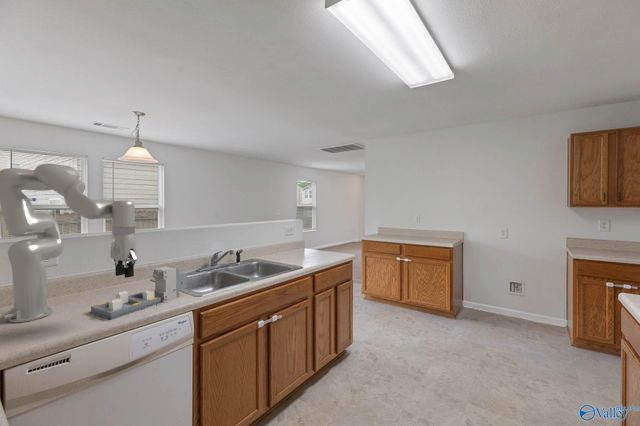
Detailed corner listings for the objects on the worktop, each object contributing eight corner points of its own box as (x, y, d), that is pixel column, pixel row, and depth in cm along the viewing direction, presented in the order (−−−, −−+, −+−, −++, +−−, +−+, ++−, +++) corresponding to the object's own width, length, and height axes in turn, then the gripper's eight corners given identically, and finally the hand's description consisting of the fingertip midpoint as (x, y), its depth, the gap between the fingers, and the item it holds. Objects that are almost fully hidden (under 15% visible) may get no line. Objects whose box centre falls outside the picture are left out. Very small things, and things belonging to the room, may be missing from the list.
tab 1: (113, 313, 115) (112, 301, 115) (108, 312, 116) (108, 300, 116) (122, 310, 118) (121, 298, 118) (118, 309, 119) (117, 297, 119)
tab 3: (147, 302, 127) (146, 291, 127) (142, 301, 129) (142, 290, 128) (154, 300, 130) (154, 289, 130) (150, 299, 132) (150, 288, 132)
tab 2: (120, 304, 125) (119, 293, 124) (116, 303, 126) (115, 292, 126) (128, 302, 128) (128, 291, 127) (124, 300, 129) (124, 290, 129)
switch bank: (111, 319, 112) (110, 312, 112) (91, 312, 119) (90, 306, 119) (160, 302, 131) (160, 296, 131) (141, 297, 138) (141, 291, 138)
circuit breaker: (189, 293, 145) (189, 264, 144) (164, 302, 132) (163, 270, 131) (179, 291, 148) (179, 263, 147) (153, 300, 135) (153, 269, 134)
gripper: (101, 230, 113) (102, 275, 114) (126, 233, 105) (127, 281, 106) (121, 229, 120) (122, 271, 120) (146, 231, 112) (147, 276, 113)
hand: (124, 275), depth 113 cm, fingers open, 5 cm apart
